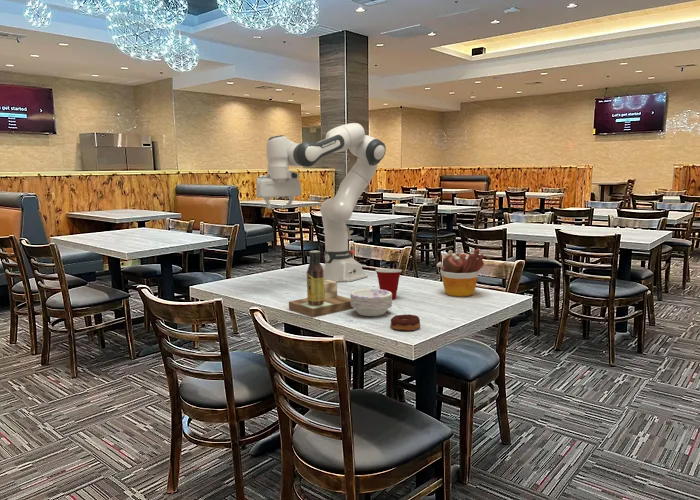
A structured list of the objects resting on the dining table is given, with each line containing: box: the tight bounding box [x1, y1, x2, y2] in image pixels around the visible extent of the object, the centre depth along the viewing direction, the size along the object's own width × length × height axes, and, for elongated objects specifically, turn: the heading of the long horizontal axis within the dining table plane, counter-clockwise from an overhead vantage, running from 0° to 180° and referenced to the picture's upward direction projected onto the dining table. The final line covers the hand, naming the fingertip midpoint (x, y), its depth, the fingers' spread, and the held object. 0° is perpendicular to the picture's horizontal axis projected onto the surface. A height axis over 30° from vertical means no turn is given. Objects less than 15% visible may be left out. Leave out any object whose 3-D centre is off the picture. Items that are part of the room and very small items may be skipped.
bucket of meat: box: [436, 248, 485, 298], centre depth 222 cm, size 20×16×20 cm
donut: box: [389, 313, 421, 332], centre depth 178 cm, size 10×10×4 cm
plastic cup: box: [374, 268, 403, 300], centre depth 219 cm, size 11×11×12 cm
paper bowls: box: [349, 288, 393, 317], centre depth 196 cm, size 15×15×8 cm
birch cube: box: [324, 280, 338, 300], centre depth 210 cm, size 6×6×6 cm
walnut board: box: [288, 294, 355, 319], centre depth 204 cm, size 20×16×3 cm
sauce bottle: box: [306, 250, 324, 305], centre depth 198 cm, size 6×6×20 cm
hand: (279, 207), depth 227 cm, fingers open, 8 cm apart
